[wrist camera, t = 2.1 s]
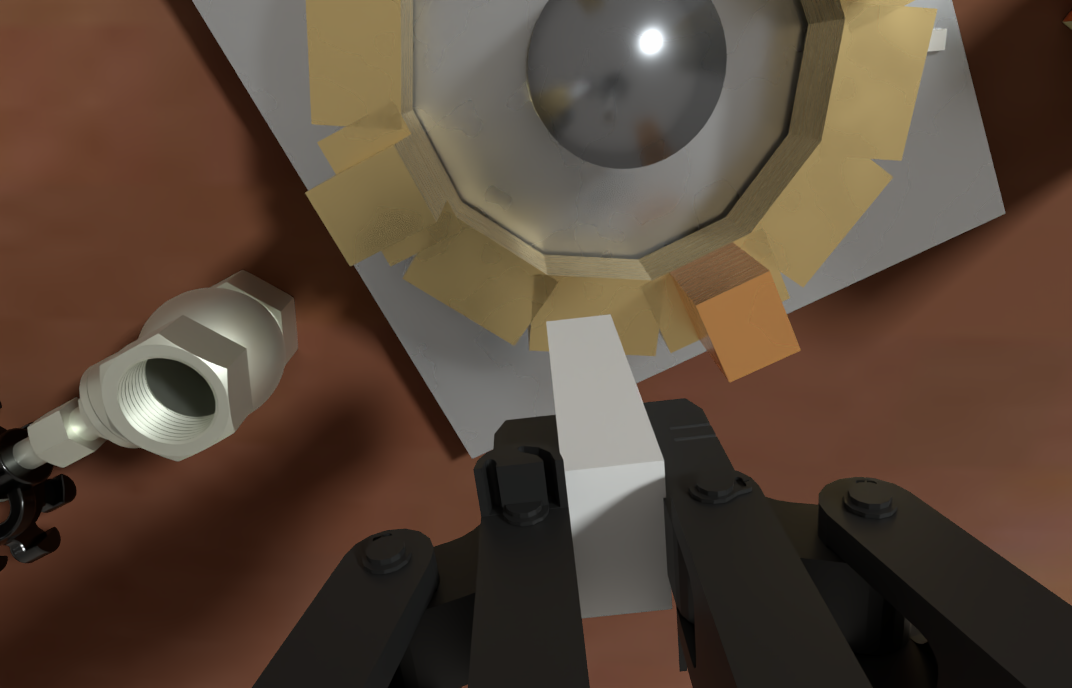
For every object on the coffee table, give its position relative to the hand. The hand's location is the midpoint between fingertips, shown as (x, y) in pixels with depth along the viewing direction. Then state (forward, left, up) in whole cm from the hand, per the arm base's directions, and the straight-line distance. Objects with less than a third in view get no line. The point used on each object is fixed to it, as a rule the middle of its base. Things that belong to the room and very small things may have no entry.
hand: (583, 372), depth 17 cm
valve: (-14, +3, -9) cm, 17 cm away
